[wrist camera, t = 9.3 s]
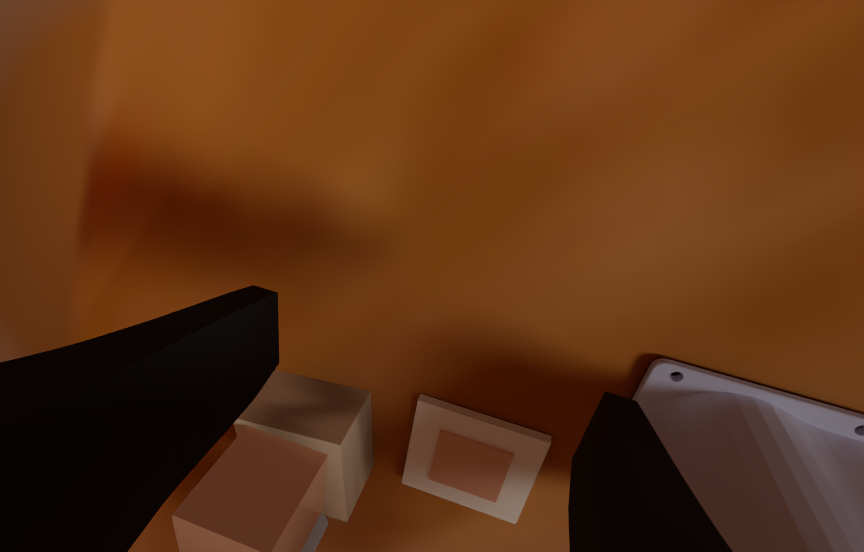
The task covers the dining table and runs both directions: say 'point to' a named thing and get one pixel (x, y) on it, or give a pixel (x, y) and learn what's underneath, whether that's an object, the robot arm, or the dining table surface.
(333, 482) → the birch base block
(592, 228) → the dining table surface
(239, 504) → the terracotta block
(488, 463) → the tile
